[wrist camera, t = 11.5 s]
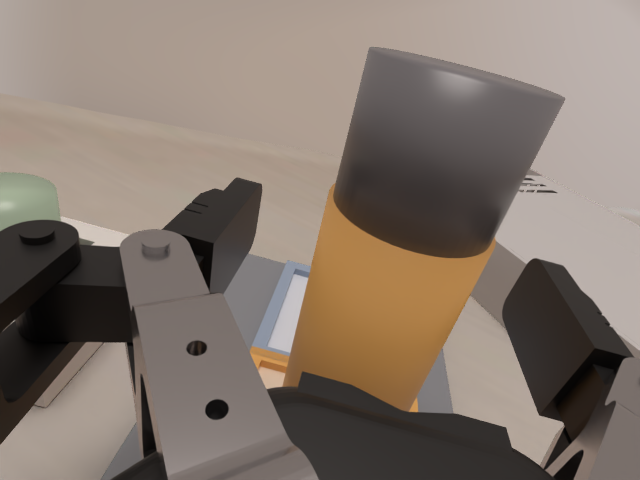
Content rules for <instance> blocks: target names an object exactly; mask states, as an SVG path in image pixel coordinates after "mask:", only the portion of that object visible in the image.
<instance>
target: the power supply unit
mask: <svg viewBox="0 0 640 480" xmlns="http://www.w3.org/2000/svg"><path fill="white" fill-rule="evenodd" d="M527 185H530V186H527ZM537 185H540V186H537ZM524 190H527V191H526V192H523V191H524ZM535 190H537V192H536V193H534V191H535ZM495 239H496V245H495V248H494V250H493V252H492V254H491V256H490V258H489V260H488V262H487V264H486V265H485V267H484V269H483V271H482V273H481V275H480V277H479V279H478V281H477V283H476V285H475V286H474V288H473V290H472V292H471V294H470V295H471V296H472V297H473V298H474V299H475V300H476V301H477V302H478V303H479V304H480V305H481V306H483V307H484V308H485V309H486V310H487V311H488V312H489V313H490V314H491V315H492V316H493V317H494V318H495V319H496V320H497V321H498V322H499V323H500V324H501V325H502V326H503V327H504V328H505V329H506V327H505V324H504V322H503V319H502V309H503V305H504V302H505V299H506V298H507V296H508V294H509V293H510V291H511V289H512V288H513V286H514V284H515V283H516V281H517V279H518V278H519V276H520V274H521V273H522V271H523V269H524V268H525V266H526V265H527V263H528V262H529V261H530V260H532V259H534V258H537V259H541V260H545V261H549V262H552V263H556V264H560V265H563V266H564V267H565V268H566V269H567V271H568V272H569V274H570V275H571V276H572V278H573V279H574V281H575V282H576V283H577V285H578V286H579V288H580V289H581V290H582V291H583V292H584V293H585V294H586V295H588V296H589V297H590V298H591V299H592V300H593V301H594V302H595V304H596V305H597V307H598V308H599V309H600V311H601V312H602V315H603V316H605V318H606V319H607V320H608V322H609V323H610V327H613V329H614V330H615V331H616V333H617V334H618V335H619V337H620V338H621V340H622V341H623V342H624V344H625V345H626V346H627V348H628V349H629V350H630V352H631V353H632V355H633V356H634V357H635V358H639V359H640V226H639V225H637V224H635V223H634V222H632V221H630V220H628V219H626V218H624V217H622V216H620V215H618V214H616V213H615V212H613V211H611V210H609V209H607V208H605V207H603V206H601V205H599V204H597V203H596V202H594V201H592V200H590V199H588V198H586V197H584V196H582V195H580V194H578V193H577V192H575V191H573V190H571V189H569V188H567V187H565V186H563V185H561V184H559V183H557V182H556V181H553V180H552V179H550V178H548V177H546V176H544V175H542V174H540V173H538V172H537V171H535V170H533V169H531V168H530V169H529V171H528V173H527V175H526V177H525V179H524V181H523V183H522V184H521V186H520V188H519V190H518V192H517V194H516V196H515V198H514V200H513V202H512V204H511V206H510V208H509V210H508V212H507V214H506V216H505V217H504V219H503V221H502V223H501V225H500V227H499V229H498V231H497V233H496V235H495Z"/></svg>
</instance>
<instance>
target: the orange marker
mask: <svg viewBox="0 0 640 480" xmlns="http://www.w3.org/2000/svg"><path fill="white" fill-rule="evenodd" d="M564 101H565V98H564V97H562V96H560V95H558V94H556V93H553V92H551V91H548V90H545V89H542V88H539V87H537V86H534V85H530V84H527V83H524V82H521V81H518V80H514V79H511V78H508V77H504V76H501V75H497V74H494V73H490V72H486V71H483V70H479V69H475V68H471V67H468V66H464V65H460V64H456V63H452V62H447V61H444V60H439V59H435V58H431V57H427V56H422V55H417V54H412V53H408V52H402V51H398V50H393V49H386V48H379V47H370V48H369V51H368V55H367V59H366V63H365V67H364V71H363V75H362V79H361V83H360V87H359V91H358V95H357V99H356V103H355V107H354V111H353V115H352V119H351V123H350V127H349V132H348V136H347V140H346V144H345V148H344V152H343V156H342V160H341V164H340V168H339V172H338V176H337V180H336V183H335V184H334V185H333V186H332V187H331V188H330V190H329V194H328V198H327V202H326V206H325V211H324V215H323V219H322V223H321V227H320V231H319V236H318V240H317V244H316V248H315V252H314V256H313V260H312V265H311V269H310V273H309V277H308V281H307V285H306V290H305V294H304V298H303V302H302V306H301V310H300V314H299V319H298V323H297V327H296V331H295V335H294V339H293V344H292V348H291V352H290V356H289V360H288V364H287V368H286V373H285V377H284V381H283V385H282V387H286V386H292V387H298V384H299V380H300V377H301V373H302V371H304V372H307V373H311V374H315V375H318V376H322V377H325V378H329V379H333V380H336V381H340V382H343V383H347V384H351V385H353V386H355V387H357V388H359V389H361V390H363V391H365V392H367V393H369V394H371V395H373V396H375V397H377V398H378V399H380V400H382V401H384V402H386V403H388V404H390V405H392V406H394V407H396V408H398V409H400V410H403V411H407V412H409V411H410V409H411V407H412V405H413V403H414V401H415V399H416V397H417V395H418V393H419V391H420V390H421V388H422V386H423V384H424V382H425V380H426V378H427V376H428V374H429V372H430V370H431V369H432V367H433V365H434V363H435V361H436V359H437V357H438V355H439V353H440V351H441V349H442V348H443V346H444V344H445V342H446V340H447V338H448V336H449V334H450V332H451V330H452V328H453V327H454V325H455V323H456V321H457V319H458V317H459V315H460V313H461V311H462V309H463V307H464V306H465V304H466V302H467V300H468V298H469V296H470V294H471V292H472V290H473V288H474V286H475V285H476V283H477V281H478V279H479V277H480V275H481V273H482V271H483V269H484V267H485V265H486V264H487V262H488V260H489V258H490V256H491V254H492V252H493V250H494V248H495V245H496V239H495V235H496V233H497V231H498V229H499V227H500V225H501V223H502V221H503V219H504V217H505V216H506V214H507V212H508V210H509V208H510V206H511V204H512V202H513V200H514V198H515V196H516V194H517V192H518V190H519V188H520V186H521V184H522V183H523V181H524V179H525V177H526V175H527V173H528V171H529V169H530V167H531V165H532V163H533V161H534V159H535V157H536V155H537V153H538V151H539V149H540V147H541V146H542V144H543V141H544V139H545V138H546V136H547V134H548V132H549V130H550V128H551V126H552V124H553V122H554V120H555V118H556V116H557V114H558V112H559V110H560V109H561V107H562V105H563V103H564Z"/></svg>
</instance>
